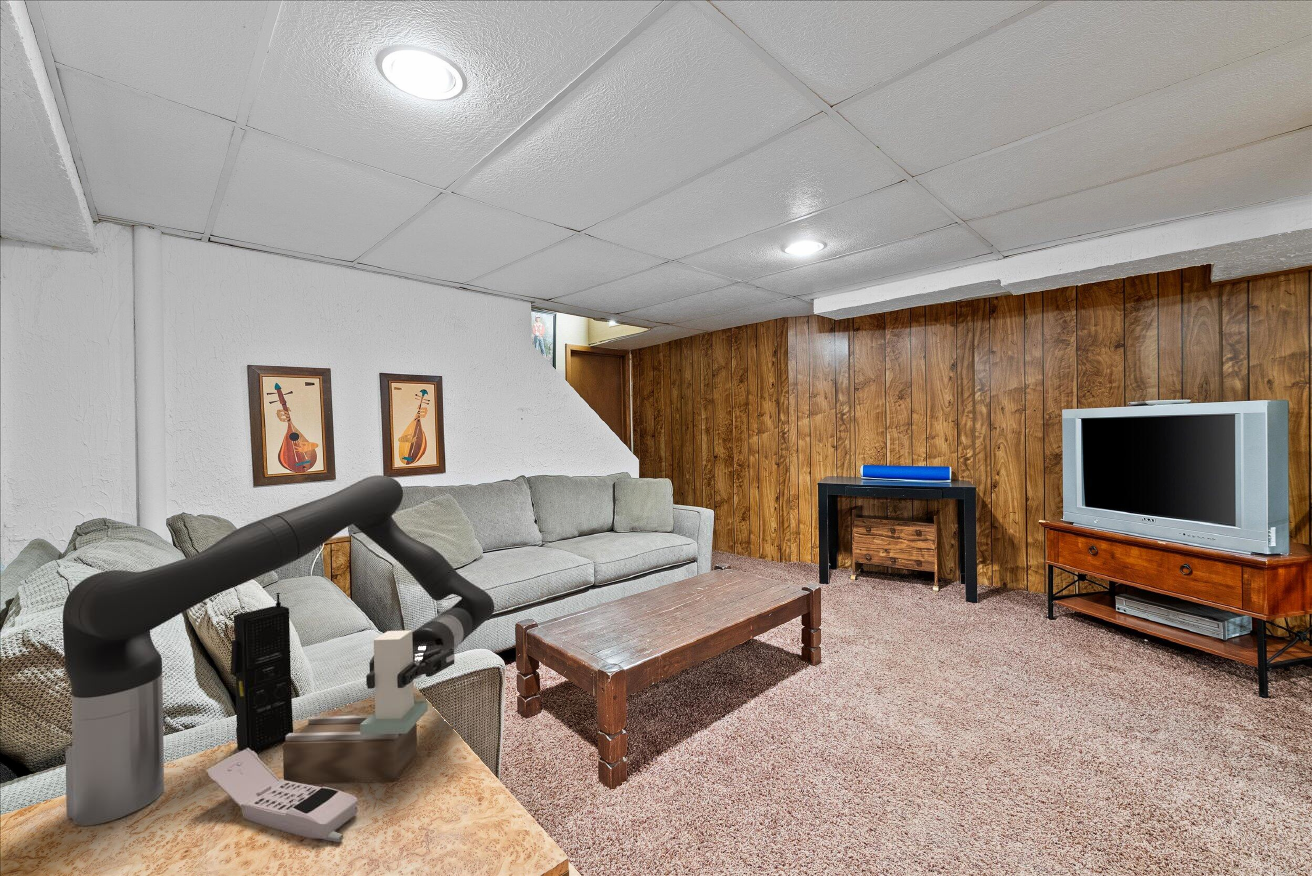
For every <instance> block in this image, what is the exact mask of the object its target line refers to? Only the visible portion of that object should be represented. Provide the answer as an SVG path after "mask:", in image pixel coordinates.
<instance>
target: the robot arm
mask: <svg viewBox="0 0 1312 876" xmlns="http://www.w3.org/2000/svg"><path fill="white" fill-rule="evenodd" d="M403 497H404V490H403V486H402V485H401V483H399V481H398V480H397V479H395V478H393V477H392V476H391V477H390V476H388V475H371V476H367V477H366V478H363V479H361V480H359V481H356V482H355V483H353V484H351V485H349V486H347V487H344V488H343V489H340V490H339V491H336V492H334V493H331V494H329V495H327V496H324V497H321V498H318V499H315V500H312V501H309V502H307V503H303V504H301V505H298V506H296V507H293V508H290V509H287V510H284V511H282V512H281V511H280V512H278V513H275V514H272V515H269V516H267V517H265V518H261V519H259V520H256V521H253V522H250V523H248V524H245V525H243V526H241V527H239V528H237V529H235V530H233V531H232V532H230V533H228V534H227V535H225V536H224V537H222V538H221V539H219V540H218V541H217V542H215V543H214V544H212V545H211V546H208V547H207V548H205V549H204V550H203V551H200V552H198V553H195V554H194V555H190V556H188V557H186V558H183V559H179V560H176V561H173V562H170V563H168V564H165V565H161V566H158V567H154V568H150V569H147V570H143V571H138V572H137V571H130V570H123V569H120V570H119V569H117V570H115V569H113V570H106V571H101V572H98V573H94V574H92V575H90V576H88V577H86V578H84V579H83V580H81V581H80V582H79V583H77V584H76V585H75V586H74V588H73V589H71V591H70V593H69V594H68V596H67V598H66V599H65V602H64V606H63V610H62V636H63V656H64V657H63V658H64V666H65V670H66V674H67V676H68V678H69V681H70V685H71V686H70V687H71V688H70V689H71V690H70V691H71V721H72V722H71V730H72V731H71V733H72V734H71V737H72V738H71V739H72V742H71V743H72V745H70V746H69V747H68V748H67V749H66V750H65V794H66V796H65V800H66V801H65V803H66V805H65V807H66V808H65V809H66V810H65V811H66V815H65V816H66V819H72V820H73V823H74V824H76V825H79V826H93V825H99V824H104V823H107V822H111V821H114V820H118V819H120V818H123V817H125V816H128V815H130V814H132V813H134V812H136V811H137V812H138V811H139V810H140V809H143V808H144V807H146V806H147V805H150V804H151V803H152V802H154V801H155V800H157V799H158V798H159V797H160V796H161V795H162V794H163V792H164V790H165V766H164V765H165V763H164V762H165V755H164V753H165V750H164V749H165V748H164V746H165V745H164V697H163V696H164V693H163V692H164V691H163V689H164V688H163V659H162V655H161V654H160V652H159V650H157V648H156V647H155V645H154V642H153V639H152V636H151V635H152V634H151V630H154V629H155V628H157V627H159V626H161V625H163V624H165V623H166V622H168V621H170V620H172V619H173V618H175V617H177V616H179V615H181V614H183V613H185V612H186V611H188V610H189V609H191V608H193V607H195V606H197V605H198V604H200V603H202V602H203V601H206V600H208V599H209V598H210V599H211V597H214V596H216V595H218V594H221V593H223V592H226V591H229V590H231V589H233V588H236V587H238V586H241V585H243V584H246V583H247V582H250V581H252V580H254V579H257V578H259V577H261V576H263V575H266V574H268V573H271V572H274V571H276V570H278V569H281V568H282V567H285V566H287V565H289V564H292V563H294V562H295V561H297V560H299V559H301V558H303V557H305V556H306V555H309V554H310V553H311V552H313V551H315V550H317V549H318V548H319V547H321V546H322V545H323V544H325V543H326V542H328V541H329V540H330V539H332V538H333V537H334V536H336V535H337V534H339V533H340V532H341V531H343V530H345V529H346V528H349V527H350V526H351V525H353V526H354V527H355V528H356V529H358V531H360V532H361V533H362V534H364V535H365V536H366V537H367V538H368V539H370V540H371V541H372V542H373V543H375V544H376V545H378V547H380V548H381V549H382V550H383V551H385V552H386V554H388V555H390V556H391V558H392V559H394V560H396V562H398V563H399V564H400V566H402V567H403V568H404V569H405V570H406V571H407V572H408V573H409V574H410V575H411V576H412V577H413V579H415V581H416V582H417V583H418V584H419V586H421V588H422V589H423V590H424V591H425V593H427V595H428V596H429V597H430V598H431V599H432V600H433V601H435V602H439V601H442V600H444V599H446V598H447V597H449V596H452V595H455V596H458V597H460V599H459V600H458V601H457V602H456V603H455V604H454V605H452V606H451V608H449V609H446V610H444V611H443V612H442V613H440V614H438V615H437V616H436V617H433V618H431V619H429V620H427V621H426V622H425V623H424V624H422V625H420V626H419V627H418V628H417V629H415V630H413V631H412V645H413V665H408V666H407V667H406V668H405V669H403V670H402V671H401V672H400V673H399V674H398V676H397V686H398V688H404V687H405V686H406V685H407V684H409V683H411V682H412V681H413V682H414V680H416V679H417V680H418V679H420V678H421V677H422V676H423V675H425V677H427V678H431V677H433V676H435V675H437V674H438V673H440V672H442V671H444V670H446V669H448V668H450V667H451V666H452V665H454V664H455V663H456V662H455V651H456V650H457V649H458V648H459V646H460V644H462V643H463V642H464V641H465V640H467V638H468V637H469V636H470V635H472V634H473V632H474V631H476V630H477V629H478V628H479V627H480V626H482V624H484V623H485V622H486V621H487V620H488V619H490V617H492V615H493V614H494V612H495V603H494V600H493V598H492V596H491V595H490V594H489V593H488V592H487V591H486V590H484V589H482V588H480V587H479V586H477V585H475V584H474V583H472V582H470V581H469V580H467V579H466V578H465V577H464V576H462V575H461V574H460V573H459V572H458V571H457V570H456V569H455V568H454V567H453V566H452V565H451V564H450V562H449V561H448V560H447V559H446V558H445V557H444V556H443V555H442V554H441V552H439V551H438V550H436V548H434V547H431V546H430V545H428V544H426V543H424V542H422V541H419V540H418V539H415V538H414V537H412V536H410V535H408V534H407V533H406V532H405V531H404V530H402V528H401V527H400V526H399V525H398V524H397V522H396V521H395V520H394V517H392V516H393V515H394V514H395V513H396V511H397V510H398V509H399V508H400V506H401V504H402V502H403ZM368 663H369V672H368V674H366V677H365V679H366V682H365V683H366V684H365V685H366V686H367V687H366V688H367V689H368V690H369V689H370V690H371V689H375V673H374V655H373V656H372V657H371V659H370V661H369V662H368Z"/></svg>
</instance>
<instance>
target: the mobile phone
mask: <svg viewBox="0 0 1312 876" xmlns="http://www.w3.org/2000/svg"><path fill="white" fill-rule="evenodd" d="M205 771H206V772H207V773H208V774H207V775H208V776H209V778H210V779H211V780H213V781H215V783H216V784H217V785H218V786H219V787H220V788H221V789H222V790H223V791H224V792H225V793H226V794H227V796H229V797H230V798H231V799H232V800H233V801H234V802H235V803H236V804H237V805H238V806H239V807H240V808H241V813H242V816H243V818H244V819H246V820H247V821H251V822H253V823H257V824H259V825H263V826H265V827H269V828H272V829H274V830H278V831H282V832H285V833H289V834H292V835H296V836H299V837H304V838H309V839H322V840H325V841H330V842H336V843H340V842H342V841H343V840H344V834H343V833H339V832H337V829H339V828H341V827H342V826H343V825H344V824H345V823H347V822H348V821H349V820H351V819H352V818H353V817H354V816H356V815H357V814H358V811H359V806H358V804H359V800H358V798H357V796H355V795H353V794H350V793H347V792H344V791H341V790H339V789H335V788H331V787H327V786H322V787H321V786H318V785H317V786H316V785H312V784H307V783H303V784H301V783H296V782H291V781H286V780H284V778H282V779H279V777H277V775H275V773H274V772H273V771H272V770H270V768H269V767H268V766H267V765H266V764H265V763H264V762H263V761H262V760H261V759H260V758H259V757H258V753H255V752H254V751H251V750H250V749H249V748H246V749H245V750H243V751H238V752H237V753H234V754H232V755H230V756H229V757H226V758H225V759H223V760H221V761H219V762H218V763H216V764H214V765H212V766H210V767H209V768H207V769H205Z"/></svg>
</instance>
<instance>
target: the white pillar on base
mask: <svg viewBox="0 0 1312 876" xmlns="http://www.w3.org/2000/svg"><path fill="white" fill-rule="evenodd" d="M412 632H413V630H411V629H410V630H387V631H386V632H384V633H382V634H381V635H379V636H377V637H376V638H374V639H373V656H374V673H375V688H374V701H375V702H374V704H375V705H374V709H375V711H374V712H372V713H371V714H369V715H370V716H369V717H368V718H367V719H366V720H365V721H363V722H362V723H361V724H360V734H405V733H407V732H408V731H409V730H410V729H411V728H412V727H413V726H414V725H415V724H416V723H418V722H419V720H420V719H422V718H423V716H425V714H426V713H427V712H428V711H429V706H428V705H429V704H428V700H423V701H421V700H419V701H418V700H417V701H415V694H414V693H415V692H414V691H415V688H414V680H413V681H412V682H411V683H409V684H407V685H406V686H405V687H404V688H398V686H397V676H398V674H399V673H400V672H401V671H402V670H403V669H405V668H406V667H407V666H408V665H413V645H412Z"/></svg>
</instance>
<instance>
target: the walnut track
mask: <svg viewBox="0 0 1312 876" xmlns="http://www.w3.org/2000/svg"><path fill="white" fill-rule="evenodd" d="M370 715H371V714H369V715H368V714H367V715H329V716H328V715H327V716H326V715H325V716H322V715H321V716H311V717H309V718H308V719H307V721H308V722H307V723H308V724H307V725H305V726H304V727H302V728H301V729H300V730H299V731H297V732H293V733H289V734H288V735H286V741H284V742H282V762H283V763H282V765H283V769H282V770H283V779H284V780H286V781H291V782H296V783H301V784H335V783H336V784H342V783H343V784H345V783H346V784H347V783H349V784H350V783H354V784H355V783H392V782H393V783H394V782H396V781H397V780H398V779H399V777H400V776H401V775H402V774H403V772H405V770H406V769H407V768H408V767H409V765H411V763H412V762H413V761H414V760H415V758H416V757H417V756H418V735H417V734H418V728H417V727H418V726H417V723H418V722H417V723H416V724H415V725H414V726H413V727H412V728H411V729H410V730H409V731H408V732H407V733H405V734H360V724H361V723H362V722H363V721H365V720H366V719H367V718H368V717H369V716H370Z"/></svg>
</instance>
